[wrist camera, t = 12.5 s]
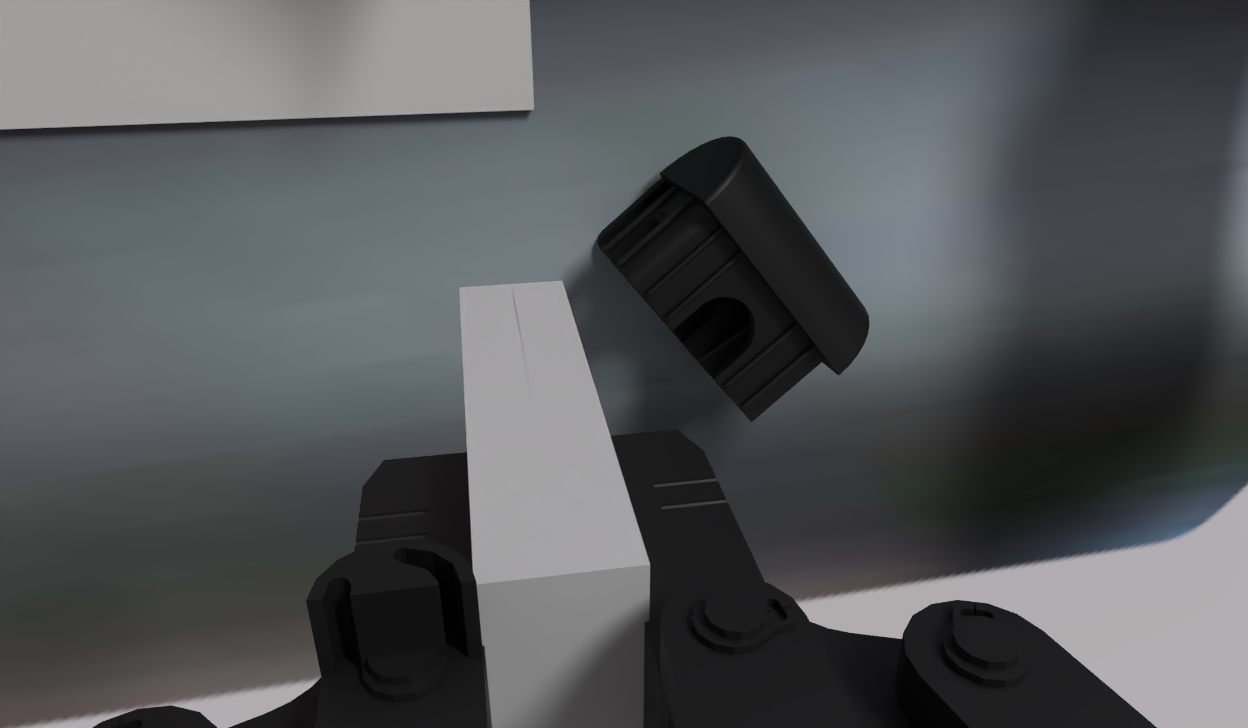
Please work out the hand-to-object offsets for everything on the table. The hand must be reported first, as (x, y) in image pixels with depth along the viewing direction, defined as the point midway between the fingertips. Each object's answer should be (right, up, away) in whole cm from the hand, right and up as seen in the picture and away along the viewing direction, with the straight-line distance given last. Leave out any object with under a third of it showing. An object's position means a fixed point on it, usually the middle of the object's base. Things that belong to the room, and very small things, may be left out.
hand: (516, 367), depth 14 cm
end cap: (+6, +5, +29) cm, 30 cm away
